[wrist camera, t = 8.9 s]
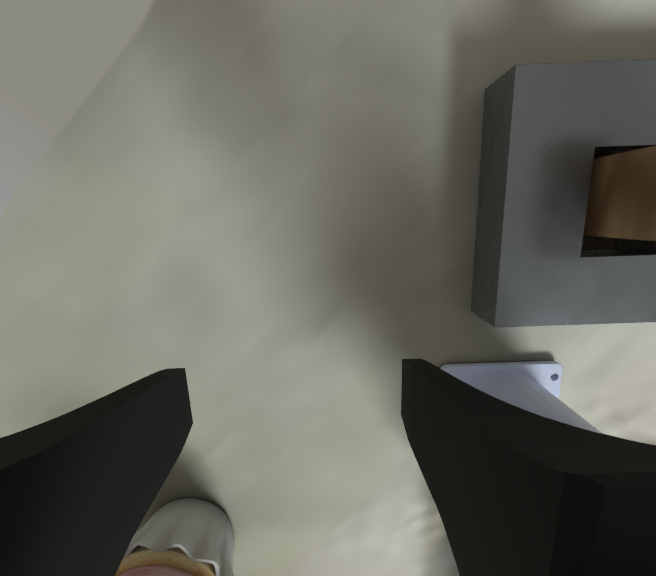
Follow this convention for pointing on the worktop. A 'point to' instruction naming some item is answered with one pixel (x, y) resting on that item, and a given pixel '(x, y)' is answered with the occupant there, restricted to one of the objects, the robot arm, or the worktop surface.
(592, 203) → the tall cardboard box
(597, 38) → the worktop surface
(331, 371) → the worktop surface
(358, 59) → the worktop surface
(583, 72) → the flat gray square plate
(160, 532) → the cupcake
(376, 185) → the worktop surface
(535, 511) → the robot arm
